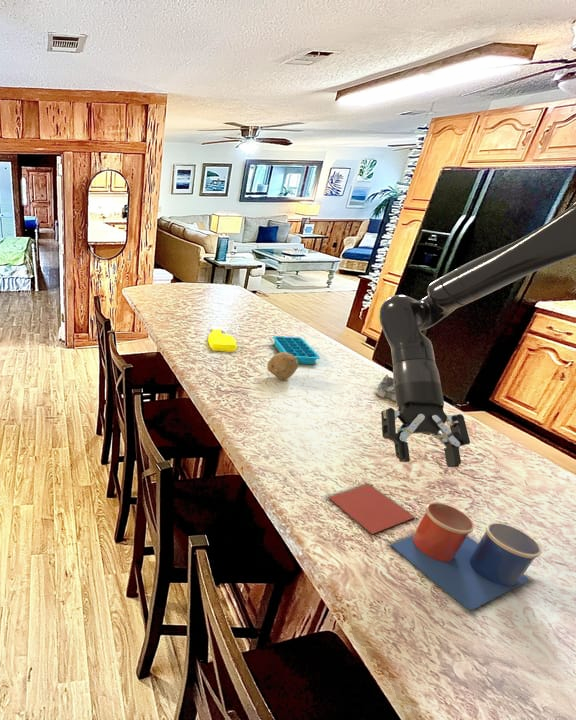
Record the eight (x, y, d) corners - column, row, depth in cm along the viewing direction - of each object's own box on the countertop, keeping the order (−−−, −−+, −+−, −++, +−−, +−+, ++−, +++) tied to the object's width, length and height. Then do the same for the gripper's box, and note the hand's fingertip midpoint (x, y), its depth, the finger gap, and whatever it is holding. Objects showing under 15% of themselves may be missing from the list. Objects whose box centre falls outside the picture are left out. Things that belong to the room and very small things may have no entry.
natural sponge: (264, 382, 131) (270, 355, 126) (264, 371, 138) (270, 345, 134) (294, 387, 128) (301, 360, 123) (292, 375, 135) (299, 349, 131)
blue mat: (446, 522, 78) (446, 522, 78) (529, 580, 67) (529, 579, 67) (390, 545, 73) (390, 544, 73) (469, 611, 62) (470, 610, 62)
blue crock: (482, 549, 72) (501, 518, 69) (527, 580, 67) (551, 548, 63) (459, 559, 70) (478, 528, 67) (503, 593, 65) (527, 560, 61)
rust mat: (368, 484, 88) (368, 484, 88) (414, 518, 79) (414, 517, 79) (328, 498, 84) (328, 497, 84) (371, 534, 75) (372, 533, 75)
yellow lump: (209, 350, 154) (205, 329, 176) (237, 352, 152) (230, 331, 174) (210, 343, 153) (205, 323, 175) (239, 345, 151) (231, 325, 173)
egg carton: (382, 384, 130) (386, 373, 128) (409, 392, 125) (414, 381, 123) (372, 394, 123) (376, 383, 122) (400, 404, 118) (405, 392, 117)
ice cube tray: (299, 344, 160) (301, 337, 159) (319, 365, 142) (321, 358, 141) (270, 342, 162) (272, 336, 160) (286, 363, 144) (288, 356, 142)
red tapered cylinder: (426, 528, 77) (441, 498, 73) (464, 556, 71) (483, 525, 67) (402, 538, 75) (418, 507, 71) (440, 567, 69) (458, 536, 65)
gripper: (390, 376, 78) (400, 458, 73) (469, 382, 76) (486, 467, 71) (369, 386, 85) (378, 461, 80) (442, 392, 83) (455, 470, 78)
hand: (428, 464), depth 75 cm, fingers open, 8 cm apart
